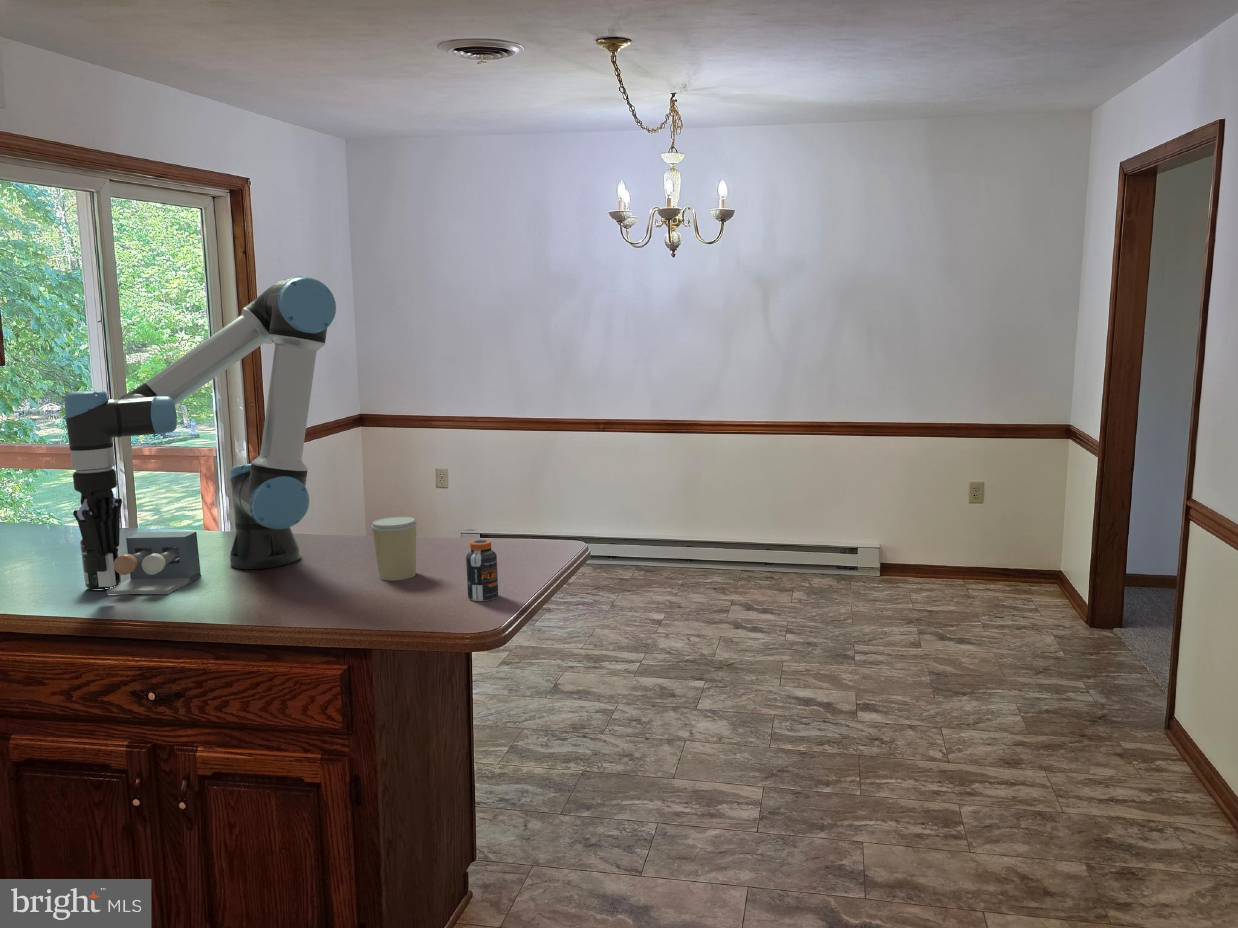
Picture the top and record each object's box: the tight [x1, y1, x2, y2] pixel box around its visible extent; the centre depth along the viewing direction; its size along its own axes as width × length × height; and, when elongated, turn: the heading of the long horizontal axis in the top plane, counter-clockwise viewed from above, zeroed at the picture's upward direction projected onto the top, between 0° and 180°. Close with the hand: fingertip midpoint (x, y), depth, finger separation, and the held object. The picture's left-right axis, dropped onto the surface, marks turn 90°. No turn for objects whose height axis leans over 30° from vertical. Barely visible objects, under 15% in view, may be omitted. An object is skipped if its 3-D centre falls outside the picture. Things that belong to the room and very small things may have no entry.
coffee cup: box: [371, 516, 417, 582], centre depth 209 cm, size 9×9×12 cm
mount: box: [106, 531, 202, 595], centre depth 208 cm, size 13×14×10 cm
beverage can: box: [79, 538, 122, 590], centre depth 208 cm, size 7×7×12 cm
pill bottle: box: [465, 539, 499, 602], centre depth 191 cm, size 6×6×11 cm
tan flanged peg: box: [114, 548, 152, 576], centre depth 208 cm, size 4×13×4 cm, turn 176°
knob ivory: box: [142, 547, 179, 575], centre depth 208 cm, size 4×13×4 cm, turn 177°
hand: (107, 585), depth 197 cm, fingers closed
